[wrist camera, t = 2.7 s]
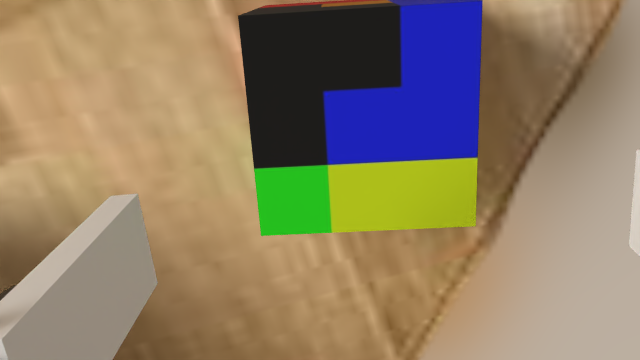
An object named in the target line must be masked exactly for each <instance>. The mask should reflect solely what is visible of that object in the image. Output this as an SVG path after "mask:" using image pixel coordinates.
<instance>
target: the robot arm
mask: <svg viewBox="0 0 640 360" xmlns="http://www.w3.org/2000/svg"><path fill="white" fill-rule="evenodd" d="M629 247H630V248H631V249H633V251H635V252H636V253H637V254H638V255H639V256H640V149H637V151H636V164H635V176H634V188H633V201H632V213H631V227H630V238H629ZM157 284H158V282H157V278H156V273H155V269H154V264H153V260H152V255H151V251H150V246H149V242H148V237H147V233H146V228H145V224H144V219H143V215H142V211H141V206H140V202H139V197H138V194H128V195H117V196H110V197H109V198H108V199H107V200H106V201H105V202H104V203H102V204H101V205H100V206H99V207H98V208H97V209H96V210H95V211H94V212H93V213H92V214H91V215H90V216H89V217H88V218H87V219H86V220H85V221H84V222H83V223H81V224H80V225H79V226H78V227H77V228H76V229H75V230H74V231H73V232H72V233H71V234H70V235H69V236H68V237H67V238H66V239H65V240H64V241H63V242H62V243H60V244H59V245H58V246H57V247H56V248H55V249H54V250H53V251H52V252H51V253H50V254H49V255H48V256H47V257H46V258H45V259H44V260H43V261H42V262H41V263H39V264H38V265H37V266H36V267H35V268H34V269H33V270H32V271H31V272H30V273H29V274H28V275H27V276H26V277H25V278H24V279H23V280H22V281H21V282H20V283H18V284H17V285H14V286H13V287H11V288H9V289H7V290H6V291H4V292H2V293H1V294H0V360H113V358H114V356H115V355H116V353H117V351H118V349H119V348H120V346H121V344H122V343H123V341H124V339H125V338H126V336H127V334H128V333H129V331H130V329H131V328H132V326H133V324H134V322H135V321H136V319H137V317H138V316H139V314H140V312H141V311H142V309H143V307H144V306H145V304H146V302H147V301H148V299H149V297H150V296H151V294H152V292H153V290H154V289H155V287H156V285H157Z"/></svg>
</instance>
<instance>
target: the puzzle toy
mask: <svg viewBox="0 0 640 360" xmlns="http://www.w3.org/2000/svg"><path fill="white" fill-rule="evenodd" d="M238 19H239V28H240V38H241V48H242V57H243V67H244V76H245V86H246V95H247V105H248V115H249V124H250V134H251V143H252V153H253V162H254V172H255V182H256V191H257V201H258V210H259V220H260V229H261V236H265V235H288V234H311V233H333V232H356V231H378V230H401V229H423V228H446V227H469V226H476V194H477V161H478V129H479V96H480V64H481V31H482V0H344V1H328V2H312V3H296V4H281V5H266V6H263V7H261V8H258V9H255V10H252V11H250V12H247V13H244V14H242V15H239V16H238Z"/></svg>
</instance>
